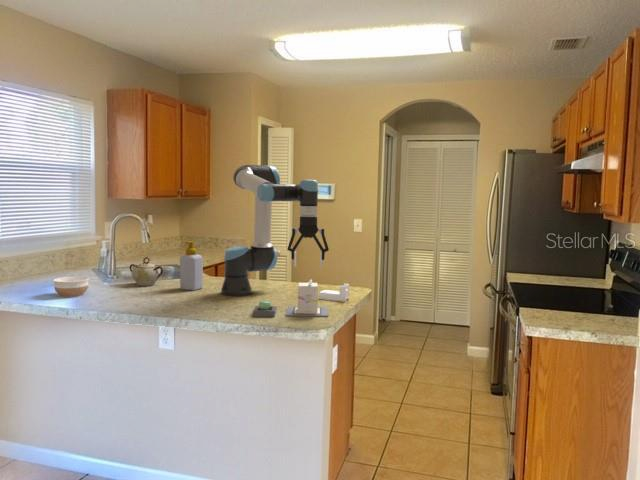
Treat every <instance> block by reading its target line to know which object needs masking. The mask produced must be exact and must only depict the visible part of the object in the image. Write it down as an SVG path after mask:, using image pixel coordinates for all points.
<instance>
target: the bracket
mask: <svg viewBox="0 0 640 480" xmlns="http://www.w3.org/2000/svg"><path fill="white" fill-rule="evenodd" d="M349 298H350V283H343V285H340V286H339V290H329V289H323V290H321V291H320V292H318V299H319V300H324V301H326V300H327V301H334V302H335V301H336V302H344V301H345V302H347V300H348V299H349Z"/></svg>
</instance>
